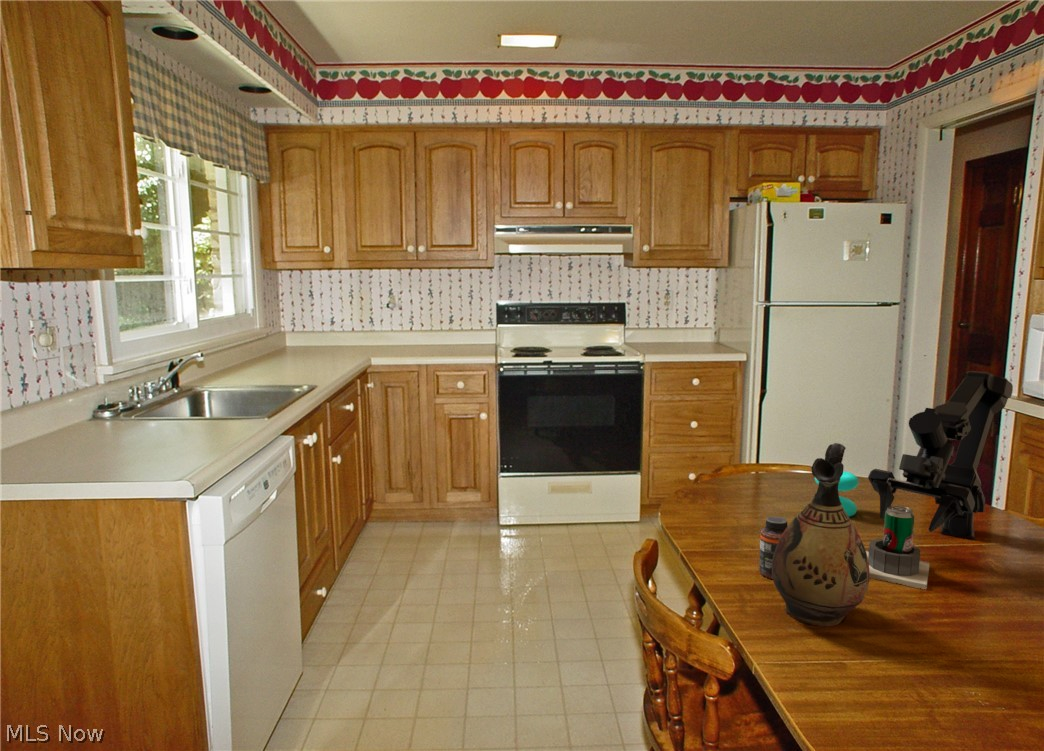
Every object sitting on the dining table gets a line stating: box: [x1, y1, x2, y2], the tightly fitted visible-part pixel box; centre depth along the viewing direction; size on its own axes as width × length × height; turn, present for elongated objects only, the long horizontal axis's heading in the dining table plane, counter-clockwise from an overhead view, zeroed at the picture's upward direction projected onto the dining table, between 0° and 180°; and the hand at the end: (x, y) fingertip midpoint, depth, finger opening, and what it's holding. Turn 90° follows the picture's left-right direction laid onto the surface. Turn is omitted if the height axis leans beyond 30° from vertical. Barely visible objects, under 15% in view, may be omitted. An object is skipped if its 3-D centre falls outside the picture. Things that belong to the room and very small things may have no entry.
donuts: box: [814, 470, 860, 518], centre depth 168 cm, size 10×10×10 cm
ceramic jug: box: [771, 442, 871, 627], centre depth 116 cm, size 17×15×30 cm
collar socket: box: [866, 538, 930, 591], centre depth 134 cm, size 12×12×5 cm
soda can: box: [882, 505, 915, 554], centre depth 133 cm, size 5×5×12 cm
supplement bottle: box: [758, 516, 788, 580], centre depth 132 cm, size 6×6×11 cm
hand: (905, 524), depth 135 cm, fingers open, 9 cm apart
